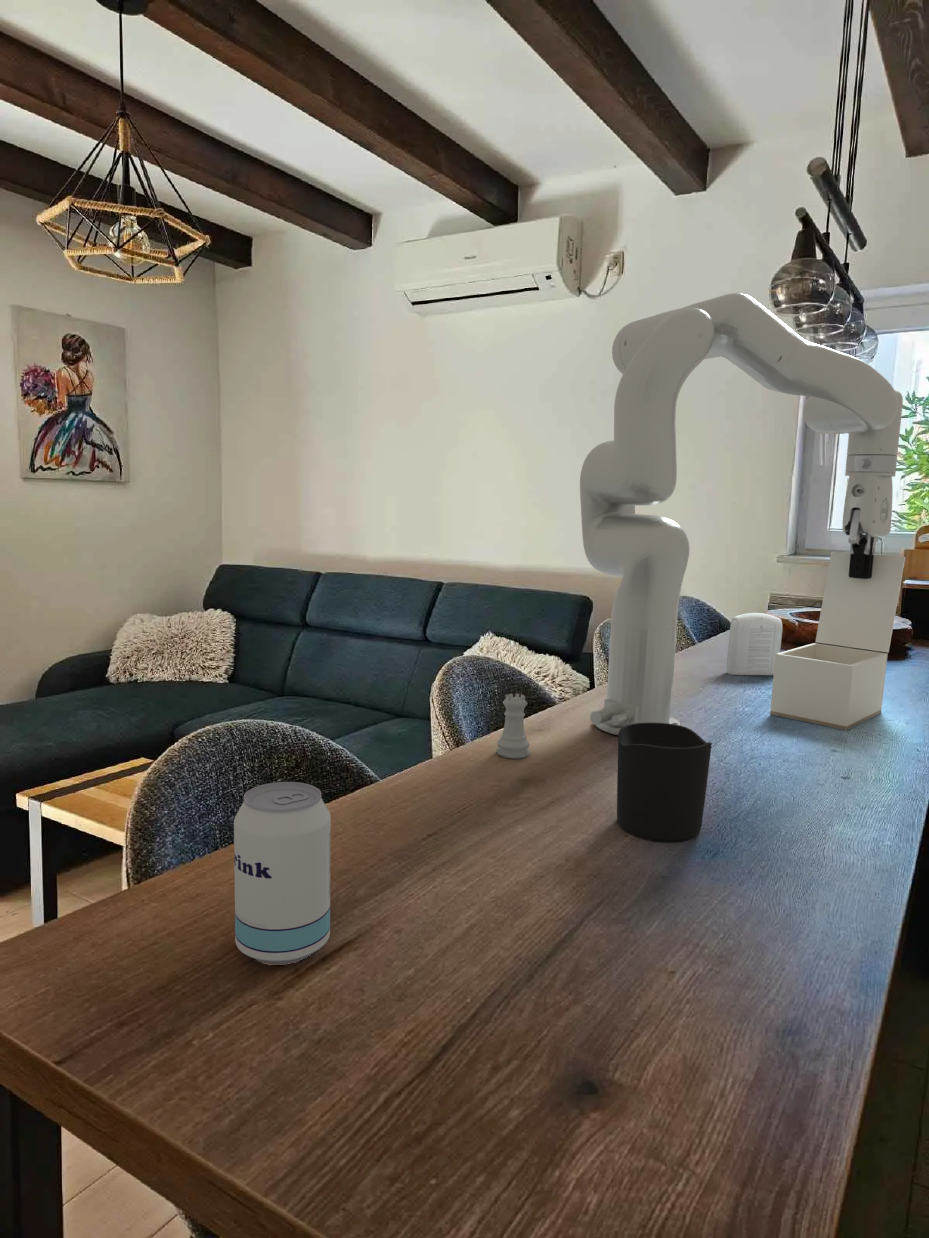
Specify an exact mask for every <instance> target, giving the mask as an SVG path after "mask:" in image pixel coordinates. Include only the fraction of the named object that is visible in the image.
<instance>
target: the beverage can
mask: <svg viewBox="0 0 929 1238" xmlns="http://www.w3.org/2000/svg"><path fill="white" fill-rule="evenodd" d="M331 819H332V818H331V812H330V811H329V809H328V807H327V805H326V804H325V802H324V801H323V798H322V791H321V790H320V788H318V787H316V786H314V785H313V784H308V783H304V782H297V781H296V782H295V781H281V782H279V781H277V782H270V783H264V784H260V785H258V786H255V787H252V788H251V789H248V790H247V791H246V792H245V793H244V795H243V802H242V804H241V806H240V807H239V809H238V811H237V813H236V815H235V816H234V821H233V850H234V851H233V852H234V853H233V854H234V855H233V857H234V858H233V859H234V860H233V863H234V864H233V865H234V871H233V872H234V873H233V874H234V933H235V934H234V936H235V937H234V940H235V945H236V947H237V949H238V950H239V952H241V953H242V954H244V955H245V956H247V957H249V958H251V959H253V958H254V959H256V960H258V961H260V962H264V963H268V964H273V965H275V964H288V963H294V962H297V961H300V960H303V959H305V958H306V959H308V958H309V957H311V956H312V955H313V954H314V953H315V952H317V951H319V950H320V949H321V948H322V947H324V945H325V944H326V943H327V942H328V941H329V938H330V937H331V936H330V935H331V842H332V841H331V827H332V826H331V822H332V820H331ZM311 954H312V955H311ZM308 956H309V957H308ZM307 957H308V958H307ZM254 959H253V960H254ZM306 959H305V960H306ZM256 960H255V961H256ZM303 961H304V960H303Z"/></svg>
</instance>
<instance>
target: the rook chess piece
mask: <svg viewBox="0 0 929 1238" xmlns="http://www.w3.org/2000/svg"><path fill="white" fill-rule="evenodd" d="M513 694H514V693H508V694H505V699H504V700H503V701H502V704H503V705H504V707H505V712H504V713H503V714H504V716H505V717H504V718H505V720H504V725H503V730H502V733H501V735H500V738H499V739H498V740H497V749H496V750H495V751H496V753H497V754H498V755H499V757H501V758H504V759H510V760H521V759H525V758H527V757H528V755H529V754H530V753H531V751H530V749H529V747H530V741H529V740H528V739H527V736H526V734H525V733H526V732H525V726H524V725H525V723H524V720H525V719H524V717H525V716H526V713H525V707H526V706H527V705H528V702H527V701H526V695H524V694H520V693H515V696H514V695H513Z"/></svg>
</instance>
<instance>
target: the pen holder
mask: <svg viewBox="0 0 929 1238" xmlns="http://www.w3.org/2000/svg"><path fill="white" fill-rule="evenodd" d="M617 736H618V737H617V772H616V774H617V775H616V776H617V777H616V779H617V782H616V784H617V785H616V819H617V820H616V821H617V823H618V824H619V826H620V827H621V829H623V831H625V832H627V833H629V834H630V835H632V836H634V837H635V836H636V837H638V838H641V839H644V838H645V839H644V840H648V839H649V840H648V841H653V840H656V841H655V842H660V841H662V842H663V843H676V842H678V843H679V842H685V841H689V840H692V839H693V838H695V837H696V836H697V835H698V834H699V833H700V831H701V830H702V824H703V815H704V810H705V809H704V808H705V802H706V794H707V787H708V780H709V779H708V777H709V769H710V759H711V752H712V744H713V742H710V741H709V742H707V741H706V740H704V739H703V738H702V737H701V736H700V735H699V734H697V733H696V732H695V731H693V729H691V728H688V727H686V726H683V725H681V726H680V725H675V724H667V723H634V724H629V725H625V726H623V727H622V728H621V729H620V731H619V734H618V735H617ZM691 838H692V839H691ZM688 839H689V840H688Z"/></svg>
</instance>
